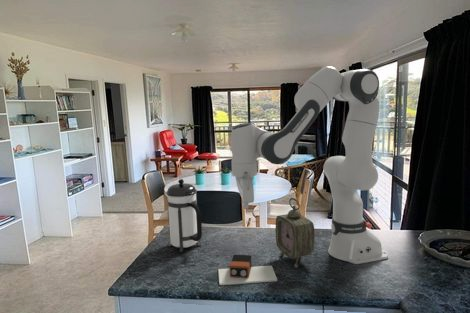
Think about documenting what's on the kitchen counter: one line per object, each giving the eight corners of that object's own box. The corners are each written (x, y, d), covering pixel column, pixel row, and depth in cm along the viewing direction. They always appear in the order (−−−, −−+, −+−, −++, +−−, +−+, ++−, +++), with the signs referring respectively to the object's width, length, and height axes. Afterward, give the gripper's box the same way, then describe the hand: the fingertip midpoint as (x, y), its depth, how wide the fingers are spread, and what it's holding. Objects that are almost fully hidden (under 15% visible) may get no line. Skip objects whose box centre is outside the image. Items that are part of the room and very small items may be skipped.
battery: (251, 265, 122) (248, 279, 112) (233, 264, 123) (229, 278, 114) (251, 254, 122) (248, 268, 112) (233, 254, 123) (228, 267, 113)
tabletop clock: (275, 255, 132) (275, 195, 128) (294, 250, 135) (295, 192, 131) (295, 271, 118) (295, 205, 115) (315, 266, 122) (316, 201, 118)
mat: (271, 267, 122) (271, 265, 122) (277, 281, 112) (277, 279, 112) (218, 270, 121) (218, 269, 120) (219, 285, 111) (219, 283, 111)
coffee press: (161, 254, 135) (156, 183, 131) (173, 238, 151) (169, 175, 146) (202, 255, 133) (199, 184, 129) (209, 239, 149) (207, 175, 144)
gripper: (258, 175, 104) (259, 217, 106) (249, 164, 124) (250, 199, 126) (238, 176, 103) (239, 218, 105) (232, 165, 123) (234, 200, 126)
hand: (245, 207), depth 116 cm, fingers closed
